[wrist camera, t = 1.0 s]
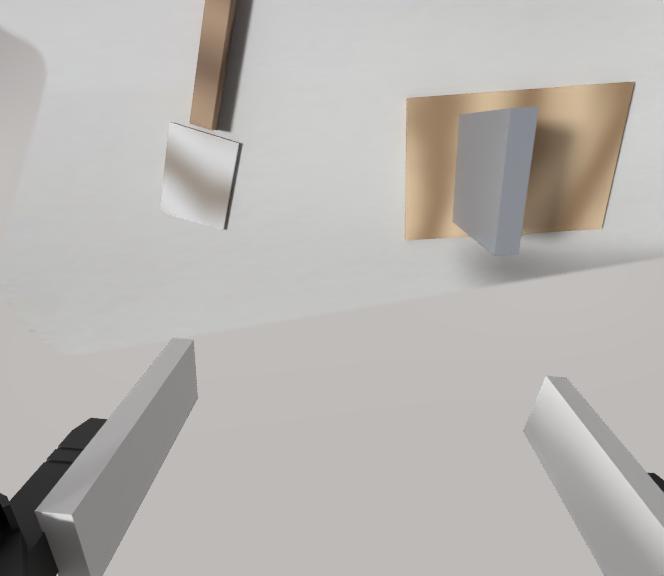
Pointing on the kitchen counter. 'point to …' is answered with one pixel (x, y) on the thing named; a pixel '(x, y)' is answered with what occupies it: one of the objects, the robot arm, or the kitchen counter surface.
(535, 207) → the board
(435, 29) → the kitchen counter surface
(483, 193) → the tile
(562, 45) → the kitchen counter surface
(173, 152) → the turner
